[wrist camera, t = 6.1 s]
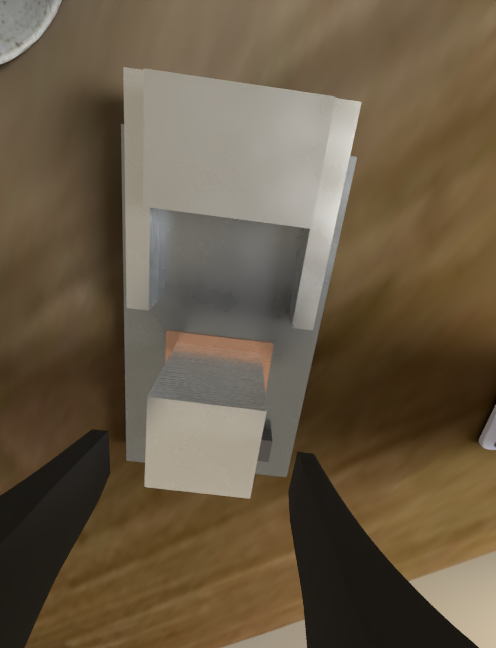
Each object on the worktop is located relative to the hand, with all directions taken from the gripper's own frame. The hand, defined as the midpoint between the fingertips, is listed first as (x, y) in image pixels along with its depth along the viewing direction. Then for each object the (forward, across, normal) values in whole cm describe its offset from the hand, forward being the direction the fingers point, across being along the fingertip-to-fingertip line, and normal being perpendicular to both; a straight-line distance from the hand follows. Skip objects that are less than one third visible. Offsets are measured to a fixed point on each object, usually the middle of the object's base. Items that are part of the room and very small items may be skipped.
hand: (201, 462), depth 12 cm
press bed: (+7, 0, -3) cm, 8 cm away
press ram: (+5, 0, -11) cm, 12 cm away
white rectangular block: (+6, 0, 0) cm, 6 cm away
